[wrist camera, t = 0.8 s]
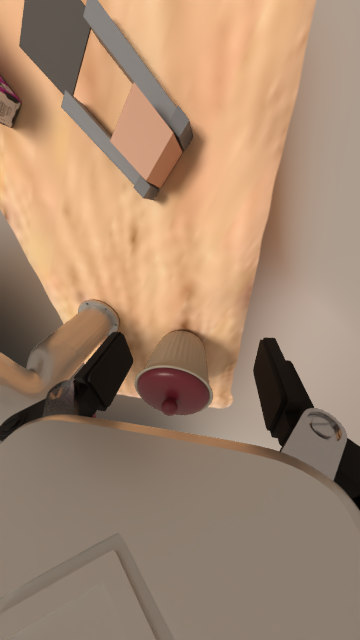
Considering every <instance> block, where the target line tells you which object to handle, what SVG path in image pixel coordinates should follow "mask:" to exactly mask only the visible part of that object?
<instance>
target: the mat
mask: <svg viewBox="0 0 360 640" xmlns="http://www.w3.org/2000/svg"><path fill="white" fill-rule="evenodd" d="M84 11H85V5H84V4H83V3H82V1H81V0H25V2H24V11H23V19H22V28H21V36H20V45H19V46H20V47H21V49H22V50H23V51H24V52H25V53H26V54H27V55H28V56H29V57H30V58H31V60H32V61H33V62H34V63H35V64H36V65H37V66H38V67H39V68H40V69H41V70H42V72H43V73H44V74H45V75H46V76H47V77H48V78H49V79H50V80H51V81H52V83H53V84H54V85H55V86H56V87H57V88H58V89H59V90H60V91H61V92H62V94H63V95H64V93H65V90H67V91H68V92H69V93H70V94H71V95H72V96H73V93H74V89H75V85H76V82H77V78H78V74H79V70H80V67H81V63H82V59H83V55H84V51H85V48H86V44H87V40H88V36H89V33H90V29H91V28H90V26H89V25H88V23H87V21H86V20H85V18H84V17H83V15H84Z"/></svg>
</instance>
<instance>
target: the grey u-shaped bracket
mask: <svg viewBox="0 0 360 640" xmlns="http://www.w3.org/2000/svg"><path fill="white" fill-rule="evenodd" d="M83 17H84V18H85V20H86V21H87V23H88V25H89V26H90V28H91V29H92V31H93V32H94V34H95V35H96V37H97V38H98V40H99V42H100V43H101V44H102V45H103V47H104V48H105V49H106V51H107V52H108V53H109V54H110V56H111V57H112V58H113V60H114V61H115V62H116V63H117V65H118V66H119V67H120V69H121V70H122V71H123V72H124V74H125V75H126V76H127V78H128V79H129V80H130V81H131V83H132V84H133V83H135V84H136V85H137V87H138V88H139V89H140V90H141V92H142V93H143V94H144V96H145V97H146V98H147V99H148V101H149V102H150V103H151V105H152V106H153V107H154V109H155V110H156V111H157V112H158V114H159V115H160V116H161V118H162V119H163V120H164V121H165V123H166V124H167V125H168V127H169V128H170V129H171V130H172V132H173V133H174V135H175V138H176V140H177V142H178V143H179V144H180V146H181V147H182V148H183V149H184V151H185V149H186V147H187V146H188V144H189V143H190V141H191V140H192V138H193V134H192V130H191V126H190V121H189V119H188V118H187V117H186V115H185V114H184V112H183V111H182V110H181V108H180V107H179V106H177V108H176V106H175V105H174V104H173V102H172V101H171V99H170V98H169V97H168V95H167V94H166V93H165V91H164V90H163V89H162V87H161V86H160V85H159V83H158V82H157V80H156V79H155V78H154V76H153V75H152V74H151V72H150V71H149V70H148V68H147V67H146V65H145V64H144V63H143V61H142V60H141V59H140V57H139V56H138V55H137V53H136V52H135V51H134V49H133V48H132V46H131V45H130V44H129V42H128V41H127V40H126V38H125V37H124V36H123V34H122V33H121V31H120V30H119V29H118V27H117V26H116V25H115V23H114V22H113V21H112V19H111V18H110V17H109V15H108V14H107V12H106V11H105V10H104V8H103V7H102V6H101V4H100V3H99V2H98V0H87V3H86V7H85V11H84V15H83ZM61 107H62V108H63V110H64V111H65V112H66V113H67V114H68V115H69V116H70V117H71V118H72V119H73V120H74V121H75V122H76V123H77V124H78V126H79V127H80V128H81V129H82V130H83V131H84V132H85V133H86V134H87V135H88V136H89V137H90V138H91V139H92V140H93V142H94V143H95V144H96V145H97V146H98V147H99V148H100V149H101V150H102V151H103V152H104V153H105V154H106V155H107V156H108V158H109V159H110V160H111V161H112V162H113V163H114V164H115V165H116V166H117V167H118V168H119V169H120V170H121V171H122V173H123V174H124V175H125V176H126V177H127V178H128V179H129V180H130V181H131V182H132V183H133V184H134V185H135V186H134V187H133V188H134V189H135V190H136V191H137V192H138V193H139V194H140V195H141V196H142V197H143V198H145V199H150V200H154V198H155V197H156V195H157V194H158V192H159V189H158V188H157V187H156V186H155V185H153V184H151V183H149V182H147V181H146V180H145V179H144V178H143V177H142V176H141V175H140V174H139V173H138V172H137V170H136V169H135V168H134V167H133V166H132V165H131V164H130V163H129V162H128V160H127V159H126V158H125V157H124V156H123V155H122V154H121V153H120V152H119V151H118V149H117V148H116V147H115V146H114V145H113V144H112V143H111V142H110V140H111V135H110V134H109V133H108V132H107V131H106V130H105V129H104V128H103V127H102V125H101V124H100V123H99V122H98V121H97V120H96V119H95V118H94V116H93V115H92V114H91V113H90V112H89V111H88V110H87V109H86V108H85V106H84V105H83V104H82V103H81V102H79V101H78V100H77V99H76V98H75V97H74V96H72V95H71V94H70V93H69V92H68V91H67V90H65V93H64V97H63V101H62V105H61Z"/></svg>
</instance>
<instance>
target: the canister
mask: <svg viewBox="0 0 360 640" xmlns="http://www.w3.org/2000/svg"><path fill="white" fill-rule="evenodd" d="M135 388H136V391H137V392H138V394H139V395H140V397H141V398H142V399H144V400H145V402H147V403H148V404H149V405H150V406H152V407H154V408H156V409H158V410H160V411H162V412H163V413H164V414H166V415H174V414H176V415H188V414H193V413H196V412H199V411H202V410H204V409H205V408H207V407H208V406H209V405H210V403H211V402H212V399H213V392H212V389H211V387H210V385H209V378H208V370H207V361H206V354H205V349H204V346H203V343H202V342H201V340H200V339H199V338H198V337H197V336H196V335H194V334H192V333H190V332H187V331H180V330H179V331H173V332H171V333H168V334H167V335H165V336H164V337H163V338H162V340H161V341H160V342H159V344H158V346H157V347H156V349H155V350H154V352H153V354H152V355H151V357H150V359H149V361H148V362H147V364H146V366H145V368H144V369H143V370H142V371H141V372H140V373H139V374H138V375H137V376H136V379H135Z"/></svg>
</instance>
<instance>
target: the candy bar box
mask: <svg viewBox="0 0 360 640" xmlns="http://www.w3.org/2000/svg"><path fill="white" fill-rule="evenodd" d="M20 106H21V101H20V100H19V99H18V97H17V96H16V95H15V93H14V92H13V91H12V90H11V88H10V87H9V86H8V84H7V83H6V82H5V80H4V79H3V78H2V77H1V75H0V123H1V124H3V125H6V126H8V127H10V128H12V126H13V124H14V121H15V118H16V116H17V114H18V111H19V109H20Z"/></svg>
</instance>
